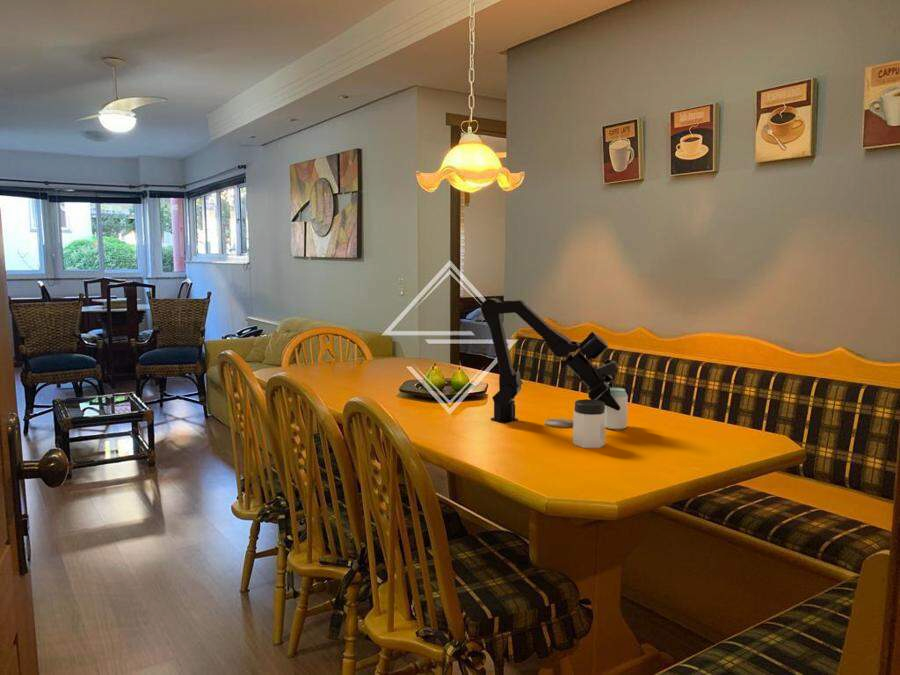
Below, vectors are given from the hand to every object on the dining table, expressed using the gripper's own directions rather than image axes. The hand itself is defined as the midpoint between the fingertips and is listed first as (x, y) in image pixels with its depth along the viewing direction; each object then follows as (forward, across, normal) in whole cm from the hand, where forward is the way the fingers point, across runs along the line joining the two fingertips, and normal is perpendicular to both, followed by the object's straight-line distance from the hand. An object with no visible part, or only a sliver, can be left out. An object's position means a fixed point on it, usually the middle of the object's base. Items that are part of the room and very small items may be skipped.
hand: (620, 406), depth 206 cm
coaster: (-8, 0, +17) cm, 19 cm away
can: (+4, 0, +6) cm, 7 cm away
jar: (0, -21, +10) cm, 23 cm away
